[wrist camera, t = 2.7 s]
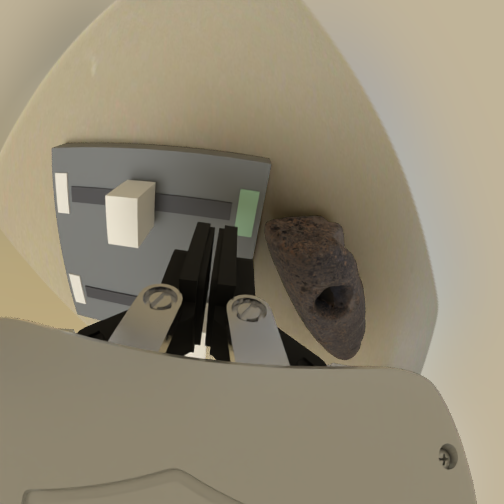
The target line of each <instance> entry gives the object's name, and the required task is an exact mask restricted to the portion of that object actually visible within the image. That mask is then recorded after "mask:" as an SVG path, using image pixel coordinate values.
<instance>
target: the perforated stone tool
mask: <svg viewBox="0 0 504 504" xmlns="http://www.w3.org/2000/svg"><path fill="white" fill-rule="evenodd" d="M264 230H265V236H266V241H267V245H268V248H269V251H270V254H271V256H272V259H273V262H274V264H275V266H276V268H277V271H278V273H279V275H280V278H281V280H282V282H283V285H284V287H285V289H286V291H287V293H288V295H289V297H290V299H291V301H292V303H293V305H294V307H295V309H296V311H297V312H298V314H299V316H300V317H301V319H302V321H303V322H304V324H305V325H306V327H307V328H308V330H309V331H310V332H311V334H312V335H313V336H314V338H315V339H316V341H318V342H319V343H320V344H321V345H322V346H323V347H324V348H325V349H326V350H327V351H328V352H329V353H330V354H332V355H333V356H334V357H336V358H338V359H342V360H348V359H350V358H352V357H353V356H355V354H356V353H357V352H358V350H359V349H360V345H361V341H362V338H363V336H364V333H365V298H364V291H363V285H362V282H361V279H360V277H359V274H358V269H357V264H356V261H355V259H354V257H353V255H352V254H351V253H350V252H349V251H348V250H347V249H346V248H344V234H343V229H342V227H341V226H340V225H339V224H338V223H334V222H328V221H327V220H325V219H324V218H323V217H322V216H301V217H285V218H282V219H273V220H270V221H269V222H266V224H265V229H264Z"/></svg>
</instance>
